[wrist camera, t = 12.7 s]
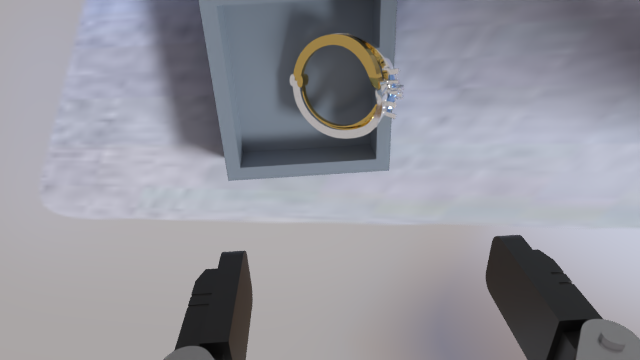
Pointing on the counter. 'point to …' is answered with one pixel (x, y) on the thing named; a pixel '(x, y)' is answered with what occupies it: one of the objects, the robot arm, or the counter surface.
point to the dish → (277, 94)
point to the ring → (384, 89)
